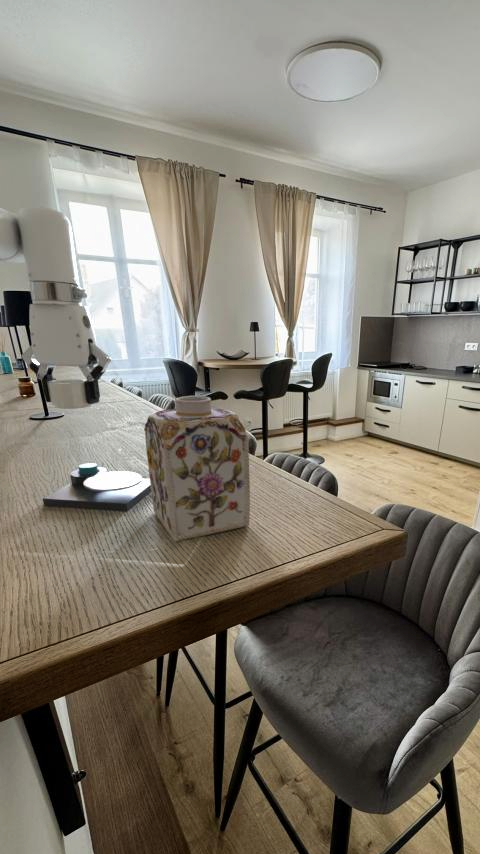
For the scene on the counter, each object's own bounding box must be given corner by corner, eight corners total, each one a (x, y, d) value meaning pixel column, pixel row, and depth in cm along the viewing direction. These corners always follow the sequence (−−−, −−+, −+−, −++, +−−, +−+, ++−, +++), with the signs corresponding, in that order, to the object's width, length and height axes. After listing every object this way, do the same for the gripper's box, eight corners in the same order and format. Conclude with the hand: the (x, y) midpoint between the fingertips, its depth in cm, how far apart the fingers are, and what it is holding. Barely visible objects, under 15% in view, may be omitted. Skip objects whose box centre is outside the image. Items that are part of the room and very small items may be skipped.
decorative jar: (222, 500, 69) (218, 390, 63) (252, 526, 60) (251, 401, 53) (150, 513, 64) (137, 394, 57) (171, 544, 54) (158, 407, 48)
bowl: (43, 408, 74) (38, 382, 72) (67, 402, 80) (63, 378, 79) (81, 410, 73) (77, 384, 71) (102, 404, 80) (98, 380, 78)
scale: (41, 506, 66) (37, 488, 65) (85, 481, 77) (82, 466, 76) (127, 512, 64) (125, 494, 63) (158, 485, 76) (157, 470, 74)
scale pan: (72, 489, 64) (71, 487, 64) (102, 472, 73) (101, 470, 73) (126, 493, 63) (126, 490, 63) (150, 475, 72) (150, 473, 72)
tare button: (76, 475, 72) (74, 467, 71) (85, 470, 75) (84, 462, 74) (92, 476, 72) (91, 468, 71) (101, 471, 74) (100, 463, 74)
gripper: (116, 299, 73) (127, 401, 79) (24, 297, 74) (42, 397, 81) (93, 295, 66) (107, 407, 72) (-8, 293, 67) (15, 403, 74)
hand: (73, 401), depth 76 cm, fingers closed on bowl, 7 cm apart
